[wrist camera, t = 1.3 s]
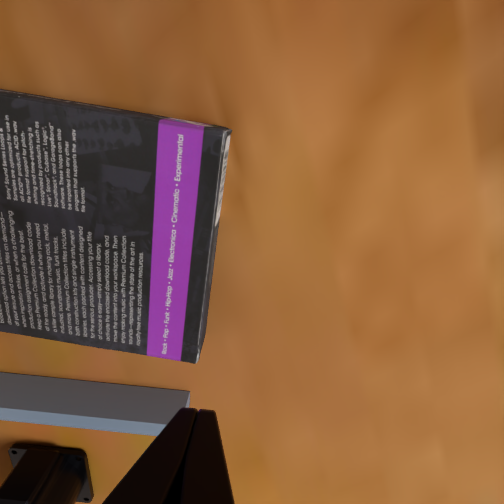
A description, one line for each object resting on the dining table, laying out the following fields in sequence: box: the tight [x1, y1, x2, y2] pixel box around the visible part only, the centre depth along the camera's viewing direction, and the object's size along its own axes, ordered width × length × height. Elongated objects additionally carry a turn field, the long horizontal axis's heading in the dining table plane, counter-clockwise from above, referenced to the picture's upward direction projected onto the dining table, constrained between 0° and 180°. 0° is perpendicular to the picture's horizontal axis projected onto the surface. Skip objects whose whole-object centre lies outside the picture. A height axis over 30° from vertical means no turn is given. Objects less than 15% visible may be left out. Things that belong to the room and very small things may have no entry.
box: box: [0, 89, 232, 364], centre depth 19 cm, size 14×4×20 cm
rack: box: [0, 372, 190, 436], centre depth 19 cm, size 28×18×3 cm, turn 175°
